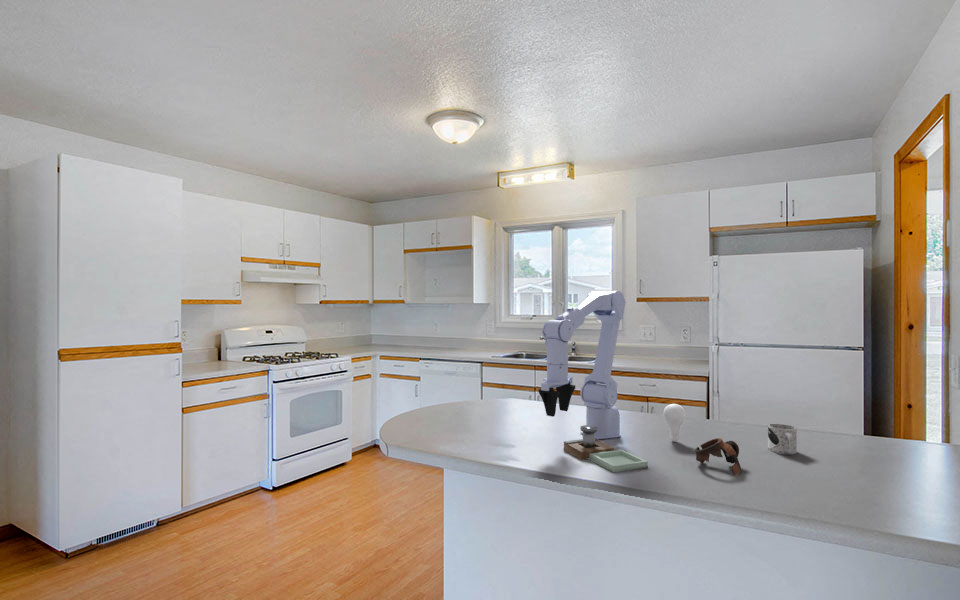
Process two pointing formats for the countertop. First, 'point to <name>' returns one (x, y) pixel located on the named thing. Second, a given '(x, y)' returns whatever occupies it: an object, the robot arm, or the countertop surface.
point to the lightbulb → (674, 420)
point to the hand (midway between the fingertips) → (557, 413)
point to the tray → (618, 460)
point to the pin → (588, 435)
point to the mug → (782, 439)
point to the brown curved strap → (715, 449)
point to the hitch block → (584, 453)
